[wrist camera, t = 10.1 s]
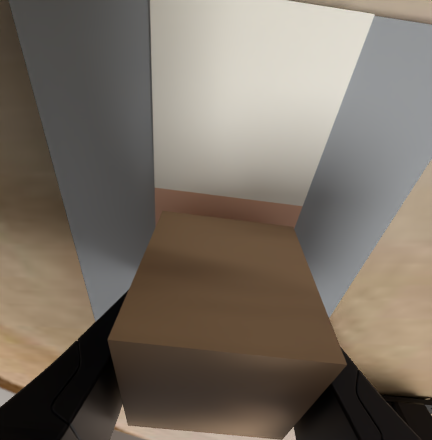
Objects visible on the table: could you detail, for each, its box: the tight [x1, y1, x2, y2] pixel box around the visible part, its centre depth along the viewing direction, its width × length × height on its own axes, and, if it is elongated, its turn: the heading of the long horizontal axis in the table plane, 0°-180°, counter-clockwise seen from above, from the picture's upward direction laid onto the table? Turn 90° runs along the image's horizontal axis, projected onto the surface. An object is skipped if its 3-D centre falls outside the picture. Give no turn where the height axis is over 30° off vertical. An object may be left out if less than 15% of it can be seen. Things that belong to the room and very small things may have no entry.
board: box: [8, 0, 432, 321], centre depth 12 cm, size 18×14×1 cm
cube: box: [108, 211, 347, 440], centre depth 8 cm, size 5×5×5 cm
